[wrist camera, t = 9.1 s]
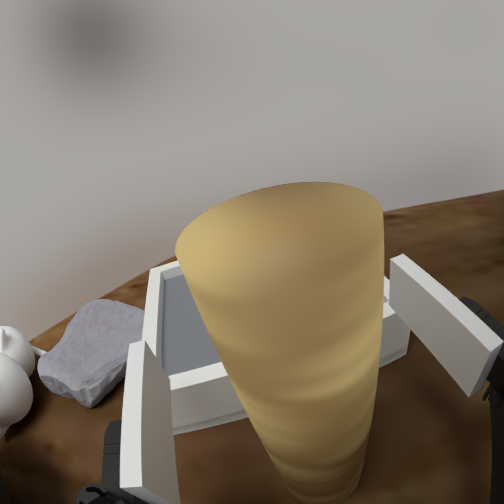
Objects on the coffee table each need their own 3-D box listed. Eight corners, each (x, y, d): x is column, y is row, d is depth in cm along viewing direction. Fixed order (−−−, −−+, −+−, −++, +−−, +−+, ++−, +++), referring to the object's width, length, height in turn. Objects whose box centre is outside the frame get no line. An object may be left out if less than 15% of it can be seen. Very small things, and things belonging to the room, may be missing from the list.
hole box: (324, 257, 34) (318, 216, 32) (406, 354, 20) (413, 304, 18) (167, 307, 33) (150, 269, 30) (171, 435, 19) (137, 397, 16)
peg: (344, 433, 16) (326, 171, 9) (372, 489, 12) (429, 228, 5) (277, 458, 16) (176, 214, 8) (297, 517, 12) (175, 314, 4)
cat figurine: (-18, 301, 24) (-58, 370, 13) (64, 317, 28) (49, 396, 18) (-8, 361, 26) (-31, 433, 15) (66, 376, 31) (61, 454, 20)
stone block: (173, 339, 31) (102, 317, 34) (162, 306, 28) (88, 287, 31) (118, 432, 22) (47, 391, 24) (95, 407, 19) (23, 363, 22)
